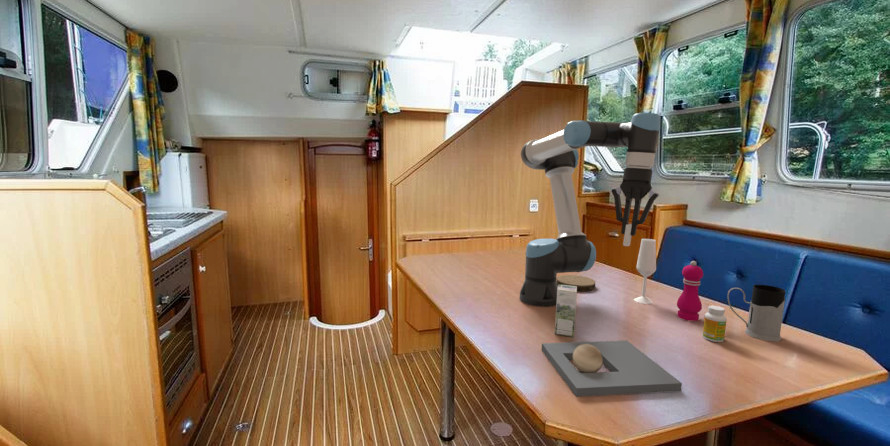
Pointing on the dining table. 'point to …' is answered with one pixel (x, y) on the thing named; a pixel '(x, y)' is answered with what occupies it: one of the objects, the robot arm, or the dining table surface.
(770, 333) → the glass holder
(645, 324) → the dining table surface
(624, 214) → the robot arm
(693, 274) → the pepper mill
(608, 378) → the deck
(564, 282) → the wood slice
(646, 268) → the champagne flute
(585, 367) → the tan round lump
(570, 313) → the syrup box
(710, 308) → the supplement bottle
